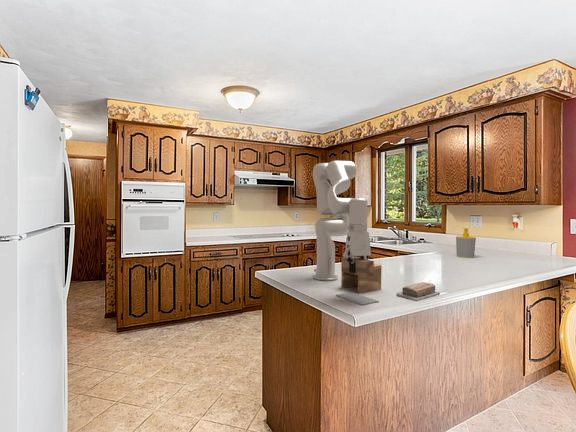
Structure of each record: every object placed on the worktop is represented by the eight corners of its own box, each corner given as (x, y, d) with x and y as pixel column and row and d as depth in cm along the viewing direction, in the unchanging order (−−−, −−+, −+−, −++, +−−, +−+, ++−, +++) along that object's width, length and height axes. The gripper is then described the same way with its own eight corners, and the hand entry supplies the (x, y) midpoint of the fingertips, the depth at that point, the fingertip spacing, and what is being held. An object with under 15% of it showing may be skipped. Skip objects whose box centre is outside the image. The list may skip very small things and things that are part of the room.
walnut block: (364, 277, 137) (364, 262, 136) (341, 271, 149) (341, 257, 148) (373, 275, 139) (373, 261, 139) (350, 269, 151) (350, 256, 151)
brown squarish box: (341, 287, 164) (341, 263, 163) (362, 283, 170) (362, 261, 170) (359, 293, 153) (360, 268, 152) (381, 289, 160) (381, 265, 159)
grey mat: (336, 295, 149) (336, 294, 149) (351, 292, 154) (351, 292, 154) (362, 305, 135) (362, 304, 135) (378, 302, 140) (378, 301, 140)
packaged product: (419, 280, 160) (440, 284, 152) (419, 290, 160) (440, 295, 152) (396, 285, 149) (417, 290, 141) (395, 296, 149) (416, 302, 141)
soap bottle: (477, 256, 257) (478, 228, 256) (472, 258, 248) (473, 229, 247) (458, 254, 266) (459, 227, 265) (452, 256, 257) (453, 228, 256)
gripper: (348, 229, 135) (347, 275, 136) (379, 228, 144) (378, 271, 145) (335, 228, 142) (335, 272, 143) (366, 227, 151) (366, 268, 151)
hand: (357, 271), depth 144 cm, fingers closed on walnut block, 5 cm apart
